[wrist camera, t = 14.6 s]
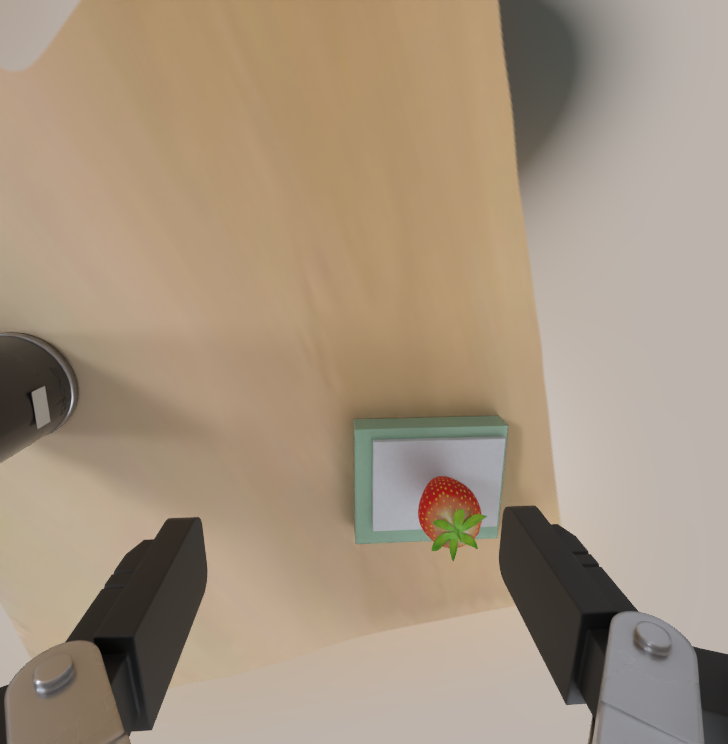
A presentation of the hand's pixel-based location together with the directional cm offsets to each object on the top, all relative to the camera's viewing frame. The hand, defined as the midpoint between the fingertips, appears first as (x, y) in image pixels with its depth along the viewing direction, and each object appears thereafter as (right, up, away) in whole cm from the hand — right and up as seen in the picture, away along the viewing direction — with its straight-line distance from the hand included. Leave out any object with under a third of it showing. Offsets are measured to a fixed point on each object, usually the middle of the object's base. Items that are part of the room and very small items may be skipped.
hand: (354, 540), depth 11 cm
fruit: (+7, -6, +28) cm, 30 cm away
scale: (+6, -6, +31) cm, 32 cm away
